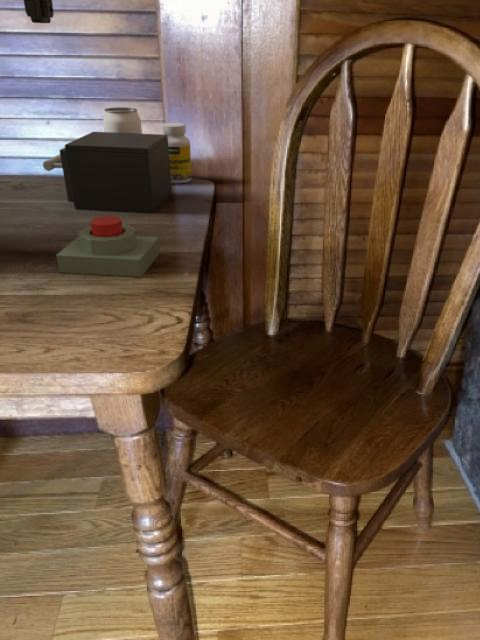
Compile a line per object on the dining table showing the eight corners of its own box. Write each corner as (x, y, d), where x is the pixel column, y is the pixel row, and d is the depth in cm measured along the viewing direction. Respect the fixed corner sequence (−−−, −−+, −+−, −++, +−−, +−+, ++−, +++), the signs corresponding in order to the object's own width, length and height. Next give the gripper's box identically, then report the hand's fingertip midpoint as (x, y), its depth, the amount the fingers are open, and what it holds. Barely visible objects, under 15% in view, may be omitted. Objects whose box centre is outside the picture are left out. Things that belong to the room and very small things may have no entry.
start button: (87, 238, 68) (85, 224, 67) (98, 229, 71) (96, 215, 70) (117, 240, 67) (115, 225, 66) (127, 230, 70) (125, 216, 69)
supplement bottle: (166, 185, 103) (162, 127, 98) (159, 178, 108) (155, 122, 102) (195, 183, 105) (192, 126, 100) (187, 176, 110) (184, 121, 104)
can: (121, 185, 102) (112, 113, 96) (104, 178, 106) (95, 108, 100) (153, 180, 106) (146, 110, 100) (135, 174, 110) (128, 106, 104)
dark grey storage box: (75, 209, 90) (64, 144, 85) (101, 190, 99) (92, 131, 94) (153, 213, 89) (147, 148, 84) (172, 193, 99) (167, 134, 94)
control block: (59, 272, 68) (53, 240, 66) (84, 249, 75) (79, 219, 72) (141, 277, 67) (137, 244, 65) (159, 253, 74) (157, 223, 72)
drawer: (42, 200, 90) (32, 148, 86) (69, 184, 99) (61, 136, 95) (139, 205, 89) (134, 153, 85) (157, 188, 98) (153, 140, 94)
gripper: (85, -162, 62) (106, 24, 71) (-32, -165, 63) (4, 20, 72) (55, -183, 55) (82, 25, 65) (-74, -185, 56) (-29, 20, 66)
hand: (41, 22), depth 68 cm, fingers closed
